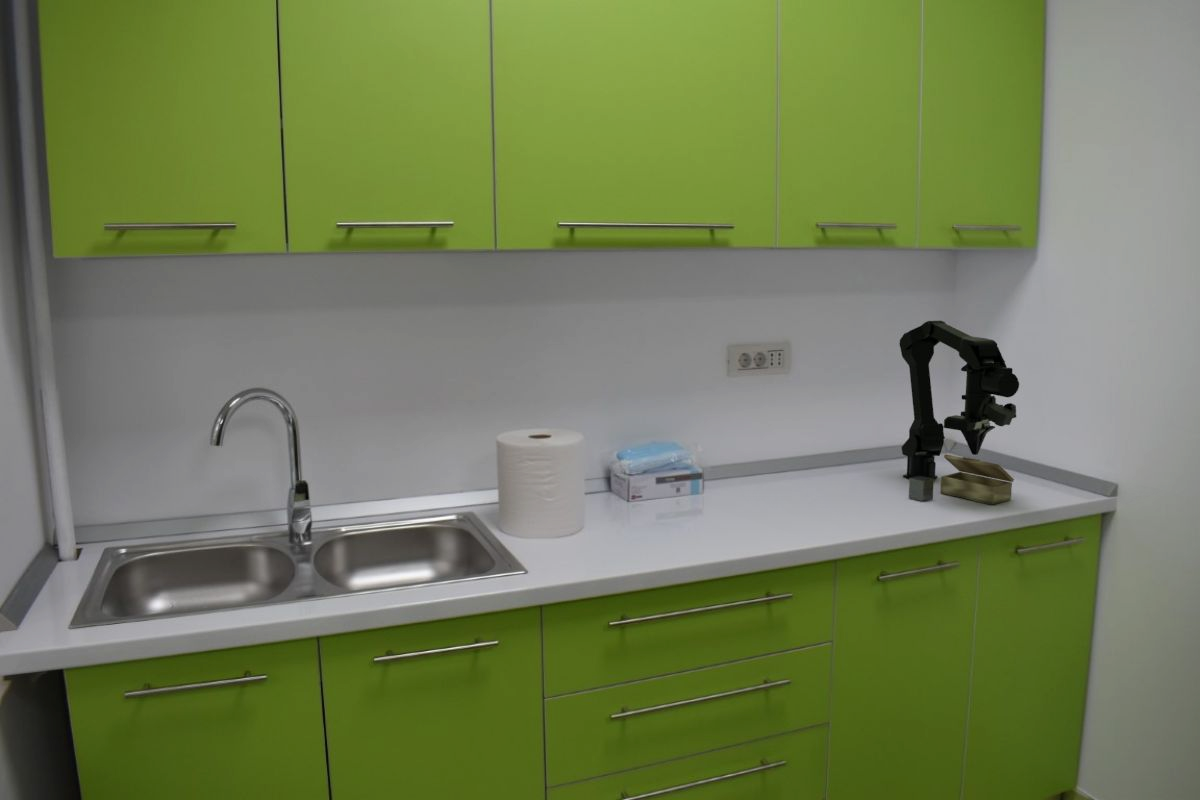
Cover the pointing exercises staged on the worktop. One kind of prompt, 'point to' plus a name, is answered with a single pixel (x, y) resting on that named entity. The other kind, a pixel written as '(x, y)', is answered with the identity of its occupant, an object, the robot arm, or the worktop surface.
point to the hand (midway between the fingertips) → (974, 454)
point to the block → (921, 488)
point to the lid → (979, 467)
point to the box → (976, 488)
